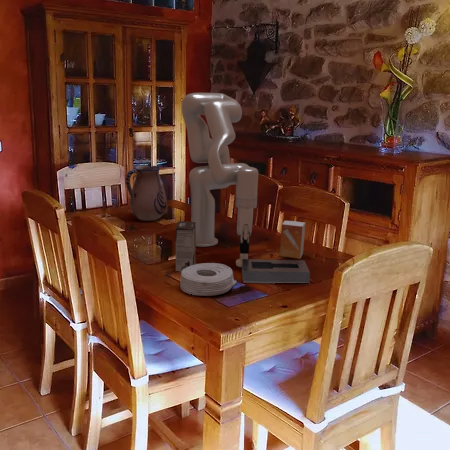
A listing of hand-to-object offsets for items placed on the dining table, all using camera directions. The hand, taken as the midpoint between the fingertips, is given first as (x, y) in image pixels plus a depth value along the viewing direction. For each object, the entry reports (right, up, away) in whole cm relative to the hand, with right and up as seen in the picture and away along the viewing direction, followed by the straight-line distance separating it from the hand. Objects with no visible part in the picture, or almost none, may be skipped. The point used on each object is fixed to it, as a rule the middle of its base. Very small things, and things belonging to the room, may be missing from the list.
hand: (244, 251), depth 191 cm
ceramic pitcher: (-45, +12, +60) cm, 76 cm away
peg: (0, -5, +1) cm, 5 cm away
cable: (-13, -11, -19) cm, 26 cm away
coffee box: (-21, -6, -3) cm, 22 cm away
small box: (+19, -2, +14) cm, 24 cm away
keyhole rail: (+10, -8, -9) cm, 16 cm away
